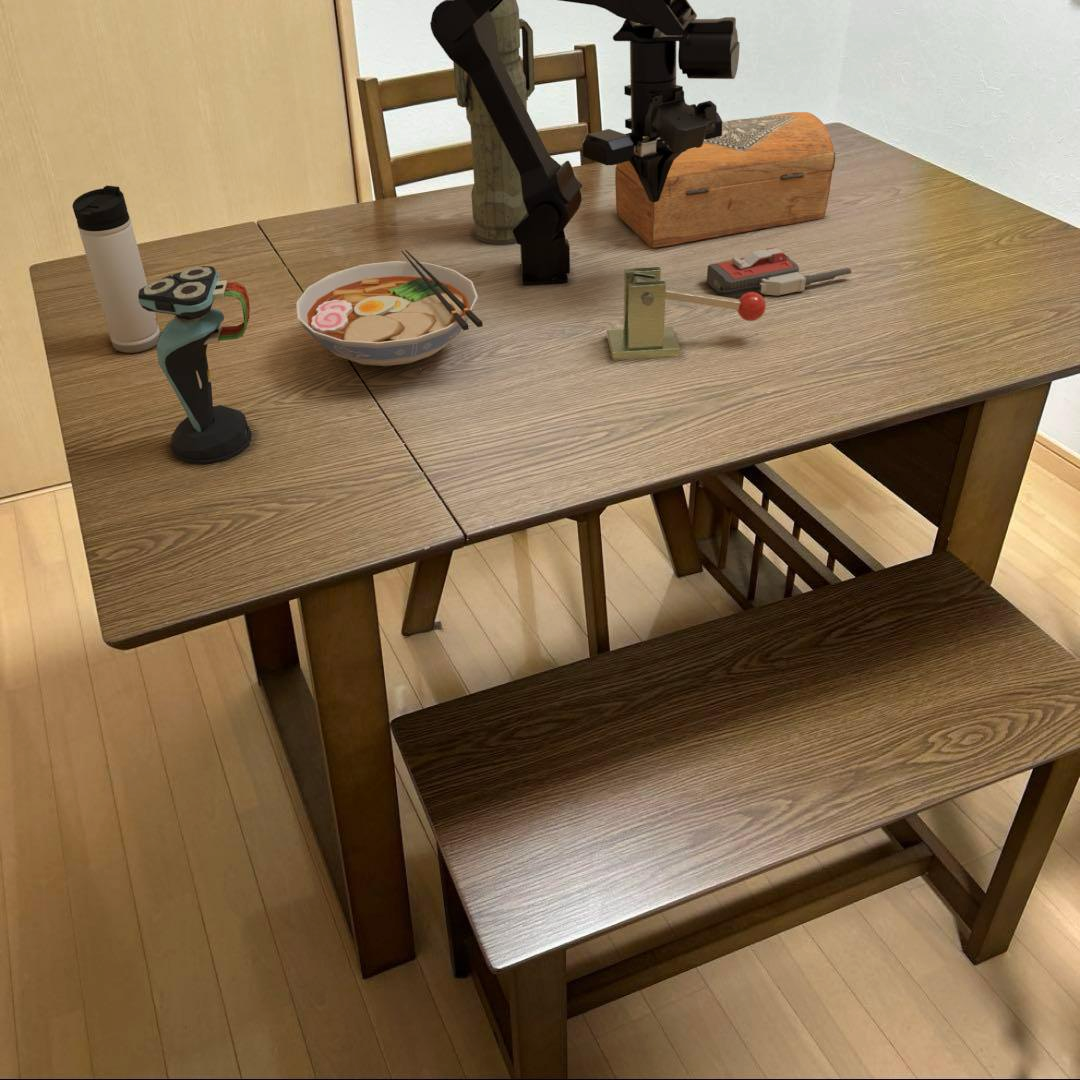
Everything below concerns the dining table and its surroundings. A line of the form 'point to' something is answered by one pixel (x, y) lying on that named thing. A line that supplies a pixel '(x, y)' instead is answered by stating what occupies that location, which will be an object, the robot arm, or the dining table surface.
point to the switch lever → (718, 300)
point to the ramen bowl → (388, 311)
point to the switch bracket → (643, 320)
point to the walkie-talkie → (762, 275)
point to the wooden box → (735, 182)
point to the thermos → (492, 163)
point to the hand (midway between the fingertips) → (654, 201)
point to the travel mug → (116, 268)
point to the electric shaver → (197, 361)
